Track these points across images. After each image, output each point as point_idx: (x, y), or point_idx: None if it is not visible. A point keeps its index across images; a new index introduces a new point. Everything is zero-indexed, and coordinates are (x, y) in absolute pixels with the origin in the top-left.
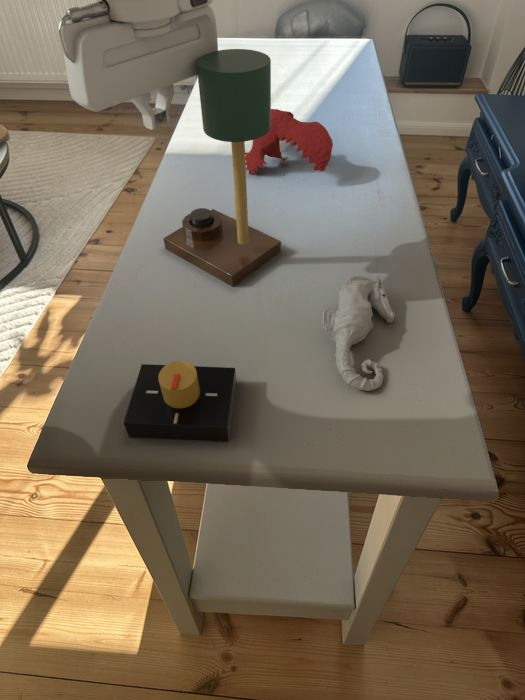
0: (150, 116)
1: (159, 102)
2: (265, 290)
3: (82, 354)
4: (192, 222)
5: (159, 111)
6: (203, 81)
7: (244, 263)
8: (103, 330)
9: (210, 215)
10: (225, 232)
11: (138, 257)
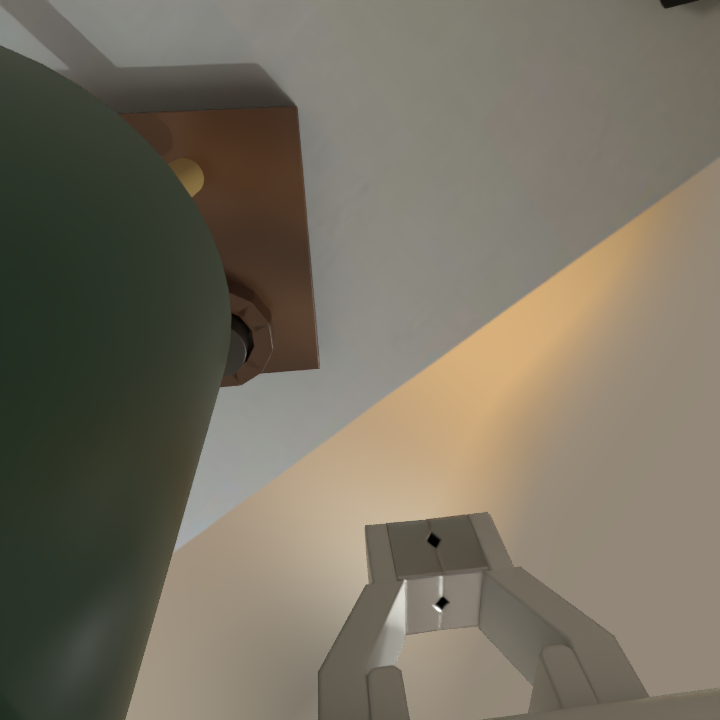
0: (512, 568)
1: (394, 648)
2: (237, 11)
3: (664, 195)
4: (247, 347)
5: (433, 586)
6: (139, 631)
7: (230, 123)
8: (591, 224)
9: None
10: None
11: (380, 369)
